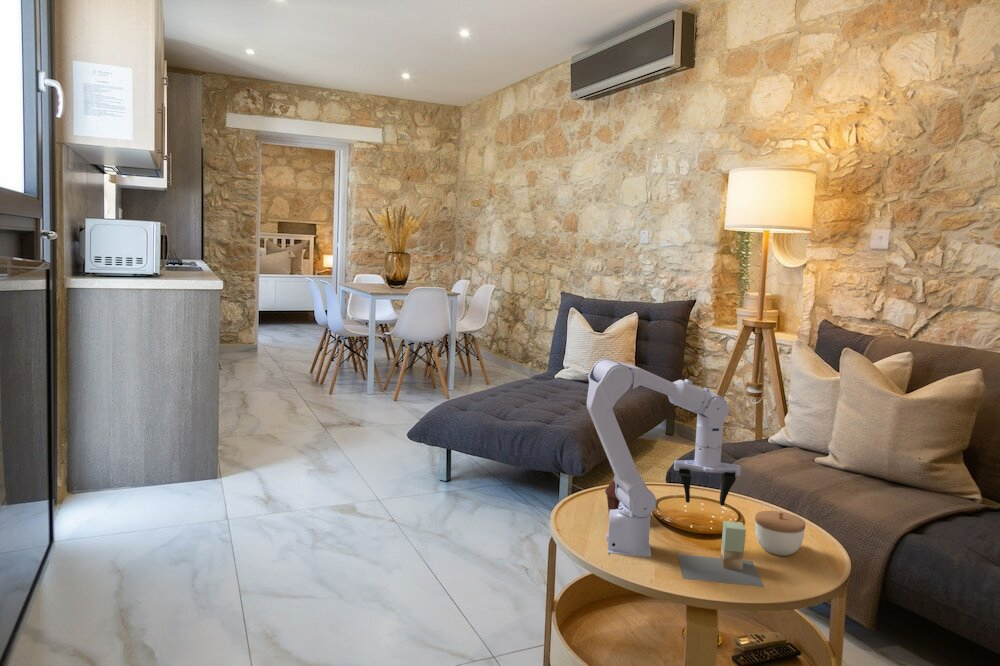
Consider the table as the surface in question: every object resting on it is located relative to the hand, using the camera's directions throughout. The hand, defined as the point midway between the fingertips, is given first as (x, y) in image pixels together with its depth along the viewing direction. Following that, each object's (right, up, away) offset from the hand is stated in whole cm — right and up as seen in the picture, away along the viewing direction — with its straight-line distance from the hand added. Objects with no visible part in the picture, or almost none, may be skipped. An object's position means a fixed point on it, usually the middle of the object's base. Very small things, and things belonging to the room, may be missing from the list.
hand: (704, 502), depth 160 cm
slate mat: (0, -12, -12) cm, 17 cm away
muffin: (-15, -8, +18) cm, 24 cm away
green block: (+3, -7, -10) cm, 13 cm away
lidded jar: (+17, -11, 0) cm, 20 cm away
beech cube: (+3, -11, -9) cm, 15 cm away
